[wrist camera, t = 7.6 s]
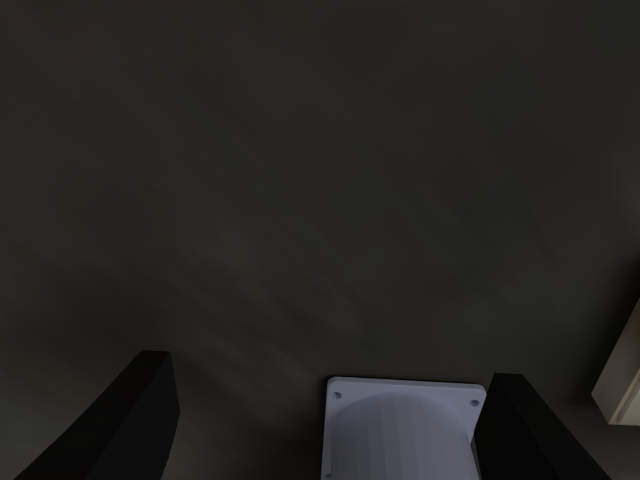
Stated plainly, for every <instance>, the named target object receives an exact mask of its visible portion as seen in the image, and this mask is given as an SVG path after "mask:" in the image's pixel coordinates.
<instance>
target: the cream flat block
mask: <svg viewBox="0 0 640 480" xmlns="http://www.w3.org/2000/svg"><path fill="white" fill-rule="evenodd" d="M591 395H592V397H593V398H594V400H595V402H596V403H597V405H598V407H599V409H600V410H601V412H602V414H603V416H604V417H605V419H606V421H607V423H608V424H616V425H634V426H640V298H639V300H638V302H637V304H636V306H635V308H634V310H633V312H632V314H631V316H630V318H629V320H628V322H627V323H626V325H625V327H624V329H623V331H622V333H621V335H620V337H619V339H618V341H617V343H616V345H615V347H614V349H613V351H612V353H611V355H610V357H609V359H608V361H607V363H606V365H605V367H604V369H603V371H602V373H601V375H600V377H599V379H598V381H597V383H596V385H595V387H594V389H593V391H592V393H591Z"/></svg>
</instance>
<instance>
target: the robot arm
mask: <svg viewBox="0 0 640 480" xmlns="http://www.w3.org/2000/svg"><path fill="white" fill-rule="evenodd" d="M334 392H338V393H334ZM179 415H180V408H179V402H178V396H177V390H176V384H175V377H174V371H173V365H172V359H171V353H170V352H165V351H149V350H143V351H141V352H140V353H139V354H138V355H137V356H136V357H135V358H134V359H133V360H132V361H131V363H130V364H129V365H128V366H127V367H126V368H125V369H124V370H123V371H122V372H121V373H120V375H119V376H118V377H117V378H116V379H115V380H114V381H113V382H112V383H111V384H110V385H109V386H108V388H107V389H106V390H105V391H104V392H103V393H102V394H101V395H100V396H99V397H98V398H97V399H96V400H95V401H94V402H93V403H92V404H91V405H90V406H89V407H88V408H87V409H86V410H85V412H84V413H83V414H82V415H81V416H80V417H79V418H78V419H77V420H76V421H75V422H74V423H73V424H72V425H71V426H70V427H69V428H68V429H67V430H66V431H65V432H64V433H63V434H62V435H61V436H60V437H59V438H58V439H57V440H56V441H54V442H53V443H52V444H51V445H50V446H49V447H48V448H47V449H46V450H45V451H44V452H43V453H42V454H41V455H40V456H38V457H37V458H36V459H35V460H34V461H33V462H32V463H31V464H30V465H29V466H28V467H27V468H26V469H25V470H24V471H22V472H21V473H20V474H19V475H18V476H17V477H16V478H15V479H14V480H160V479H161V477H162V474H163V471H164V469H165V466H166V463H167V460H168V458H169V454H170V450H171V447H172V443H173V439H174V435H175V431H176V427H177V423H178V419H179ZM473 434H474V437H475V444H476V450H477V456H478V461H479V466H480V472H481V477H482V480H612V479H611V478H610V477H609V476H608V475H607V474H606V473H605V472H604V470H603V469H602V468H601V467H600V466H599V465H598V464H597V462H596V461H595V460H594V459H593V458H592V457H591V456H590V455H589V453H588V452H587V451H586V450H585V449H584V448H583V447H582V445H581V444H580V443H579V442H578V441H577V440H576V438H575V437H574V436H573V435H572V434H571V433H570V431H569V430H568V429H567V428H566V427H565V425H564V424H563V423H562V422H561V421H560V419H559V418H558V417H557V416H556V415H555V413H554V412H553V411H552V410H551V409H550V407H549V406H548V405H547V404H546V403H545V401H544V400H543V399H542V398H541V396H540V395H539V394H538V393H537V392H536V390H535V389H534V388H533V387H532V386H531V384H530V383H529V382H528V381H527V380H526V378H525V377H524V376H523V375H522V374H507V373H494V376H493V378H492V381H491V384H490V387H489V390H488V392H487V395H486V392H485V389H484V387H483V386H481V385H477V384H461V383H443V382H425V381H407V380H388V379H370V378H352V377H333V378H330V379H329V380H328V383H327V396H326V411H325V426H324V441H323V456H322V471H321V480H479V477H478V473H477V470H476V466H475V462H474V458H473V455H472V451H471V447H470V443H471V440H472V437H473Z"/></svg>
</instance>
